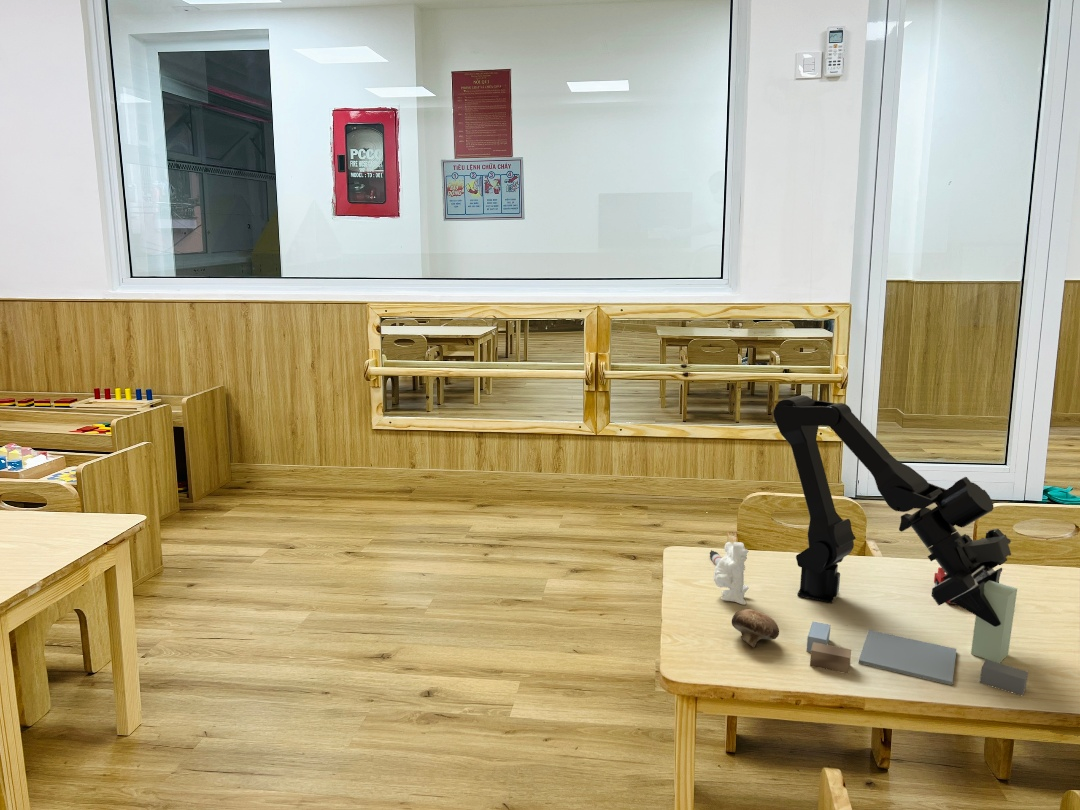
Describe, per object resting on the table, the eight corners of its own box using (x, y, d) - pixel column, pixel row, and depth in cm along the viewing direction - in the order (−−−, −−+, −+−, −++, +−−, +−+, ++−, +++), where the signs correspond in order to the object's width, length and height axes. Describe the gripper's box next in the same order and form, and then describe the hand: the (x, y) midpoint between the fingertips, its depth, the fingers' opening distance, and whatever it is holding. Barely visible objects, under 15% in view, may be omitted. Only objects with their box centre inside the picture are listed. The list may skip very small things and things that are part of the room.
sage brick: (970, 653, 143) (979, 587, 141) (980, 645, 146) (989, 580, 144) (998, 663, 140) (1008, 596, 138) (1008, 654, 143) (1017, 588, 141)
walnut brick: (809, 666, 139) (811, 650, 139) (811, 658, 142) (813, 642, 141) (848, 675, 137) (850, 658, 136) (849, 666, 140) (851, 649, 139)
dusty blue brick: (824, 656, 143) (826, 639, 142) (806, 652, 144) (807, 636, 143) (829, 640, 148) (830, 624, 147) (811, 637, 149) (812, 621, 149)
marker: (738, 585, 170) (738, 575, 170) (728, 585, 170) (729, 576, 170) (715, 555, 185) (715, 546, 185) (706, 555, 185) (706, 547, 185)
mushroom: (746, 641, 140) (755, 604, 143) (717, 638, 147) (725, 603, 150) (783, 657, 143) (791, 620, 145) (752, 653, 150) (760, 619, 152)
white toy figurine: (757, 607, 160) (761, 547, 157) (722, 608, 159) (726, 548, 157) (741, 588, 168) (745, 530, 166) (708, 589, 167) (712, 532, 165)
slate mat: (858, 663, 140) (858, 659, 140) (868, 632, 150) (868, 629, 150) (952, 685, 134) (952, 681, 134) (956, 652, 144) (956, 648, 144)
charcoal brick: (979, 683, 135) (981, 666, 134) (983, 676, 137) (985, 659, 136) (1022, 697, 131) (1024, 679, 130) (1025, 688, 133) (1028, 671, 133)
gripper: (959, 530, 135) (1026, 618, 129) (1001, 504, 147) (1064, 583, 142) (905, 562, 142) (966, 647, 137) (949, 535, 155) (1007, 611, 149)
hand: (1003, 620), depth 141 cm, fingers closed on sage brick, 4 cm apart
